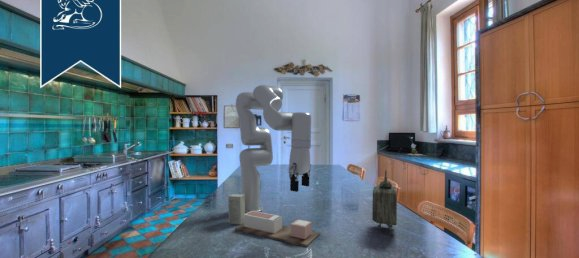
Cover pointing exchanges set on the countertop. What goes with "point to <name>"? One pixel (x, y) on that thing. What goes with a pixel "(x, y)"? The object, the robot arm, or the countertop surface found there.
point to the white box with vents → (263, 221)
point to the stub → (301, 229)
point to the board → (281, 235)
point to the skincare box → (236, 208)
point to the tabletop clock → (385, 204)
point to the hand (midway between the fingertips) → (300, 188)
